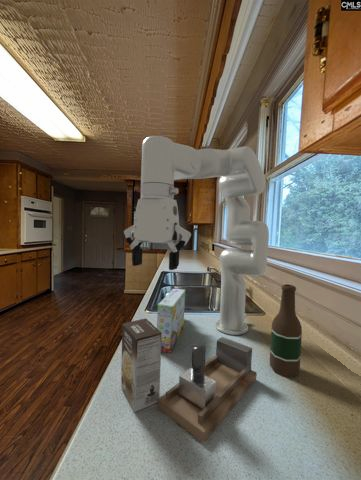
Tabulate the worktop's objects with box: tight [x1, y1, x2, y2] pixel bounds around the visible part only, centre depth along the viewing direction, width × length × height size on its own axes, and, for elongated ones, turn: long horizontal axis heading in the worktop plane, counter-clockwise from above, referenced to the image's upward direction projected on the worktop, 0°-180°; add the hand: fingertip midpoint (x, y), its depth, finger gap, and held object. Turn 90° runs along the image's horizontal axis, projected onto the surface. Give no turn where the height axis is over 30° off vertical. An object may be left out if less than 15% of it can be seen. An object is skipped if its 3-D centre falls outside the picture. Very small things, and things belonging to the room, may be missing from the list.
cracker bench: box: [157, 336, 257, 443], centre depth 55 cm, size 24×12×8 cm, turn 139°
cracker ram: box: [178, 343, 216, 409], centre depth 50 cm, size 4×7×11 cm, turn 49°
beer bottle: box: [269, 283, 303, 378], centre depth 65 cm, size 8×8×24 cm
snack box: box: [156, 288, 186, 354], centre depth 82 cm, size 21×6×15 cm, turn 168°
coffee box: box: [120, 318, 162, 413], centre depth 53 cm, size 9×6×16 cm
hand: (154, 267), depth 54 cm, fingers open, 9 cm apart
